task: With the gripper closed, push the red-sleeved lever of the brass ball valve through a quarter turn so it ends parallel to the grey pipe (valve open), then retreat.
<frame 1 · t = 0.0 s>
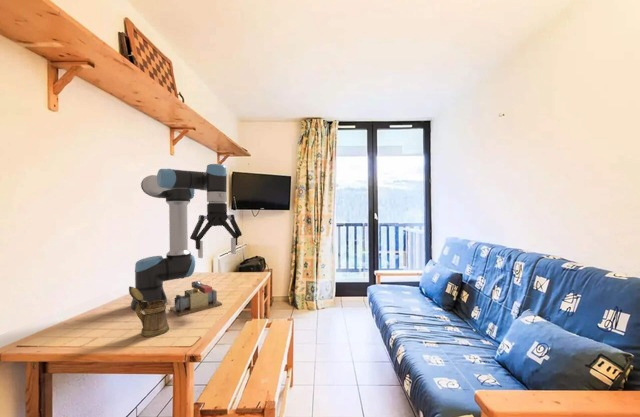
hand: (217, 255, 111), 28 cm above the table, fingers open, 13 cm apart
lever: (201, 286, 128), point 11 cm above the table, hinge at 0.0°
valve body: (196, 307, 132), on the table
wooden mug: (149, 332, 106), on the table
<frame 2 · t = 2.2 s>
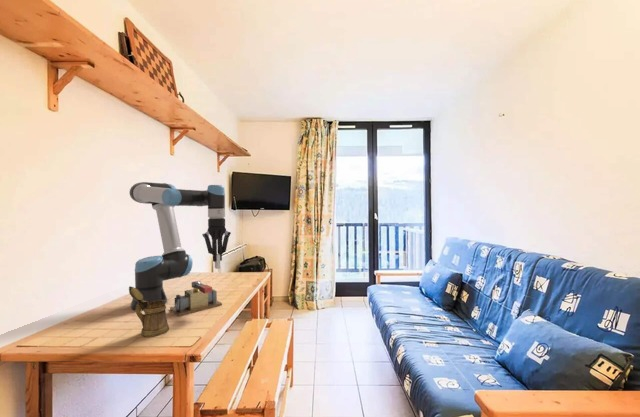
hand: (217, 268, 129), 19 cm above the table, fingers closed
nothing on the table moved.
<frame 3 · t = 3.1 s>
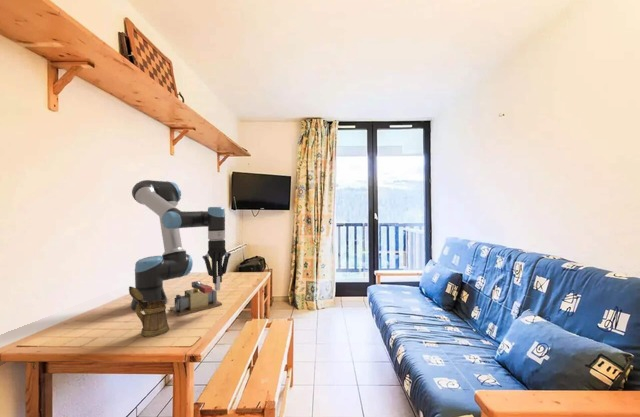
hand: (217, 289, 129), 9 cm above the table, fingers closed
nothing on the table moved.
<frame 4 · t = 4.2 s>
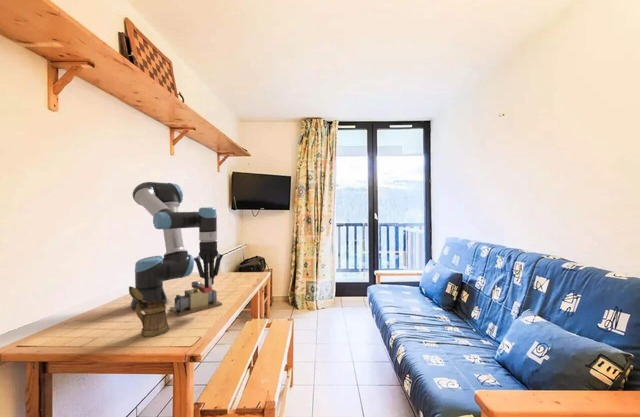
hand: (209, 292, 127), 9 cm above the table, fingers closed
lever: (201, 286, 128), point 11 cm above the table, hinge at 0.6°, touching gripper
everything else where it was.
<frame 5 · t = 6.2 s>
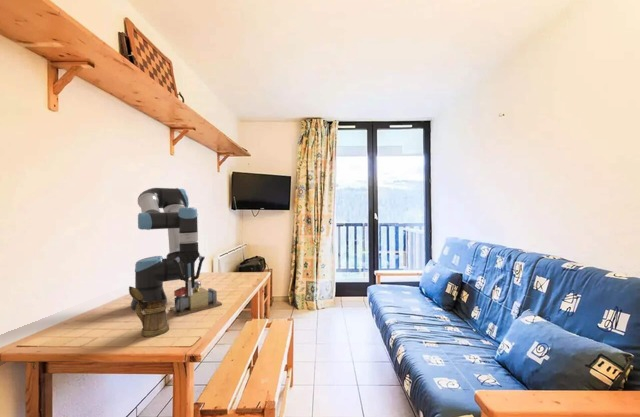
hand: (190, 295, 122), 9 cm above the table, fingers closed
lever: (188, 288, 126), point 11 cm above the table, hinge at 49.6°, touching gripper
everything else where it was.
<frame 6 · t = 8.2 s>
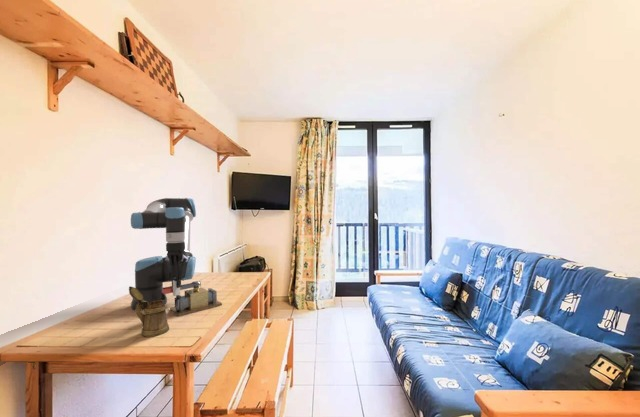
hand: (176, 294, 123), 9 cm above the table, fingers closed
lever: (182, 287, 128), point 11 cm above the table, hinge at 86.8°, touching gripper
everything else where it was.
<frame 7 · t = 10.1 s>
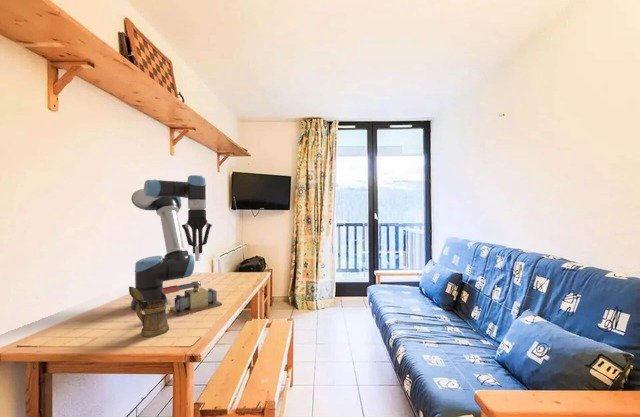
hand: (197, 260, 127), 23 cm above the table, fingers closed
lever: (182, 287, 128), point 11 cm above the table, hinge at 86.8°
everything else where it was.
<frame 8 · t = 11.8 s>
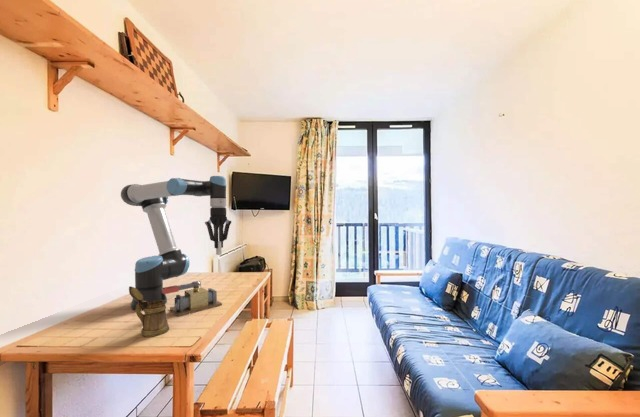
hand: (218, 254, 137), 24 cm above the table, fingers closed
nothing on the table moved.
at the end: lever at +87° (first picture: +0°); lever touching nothing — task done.
